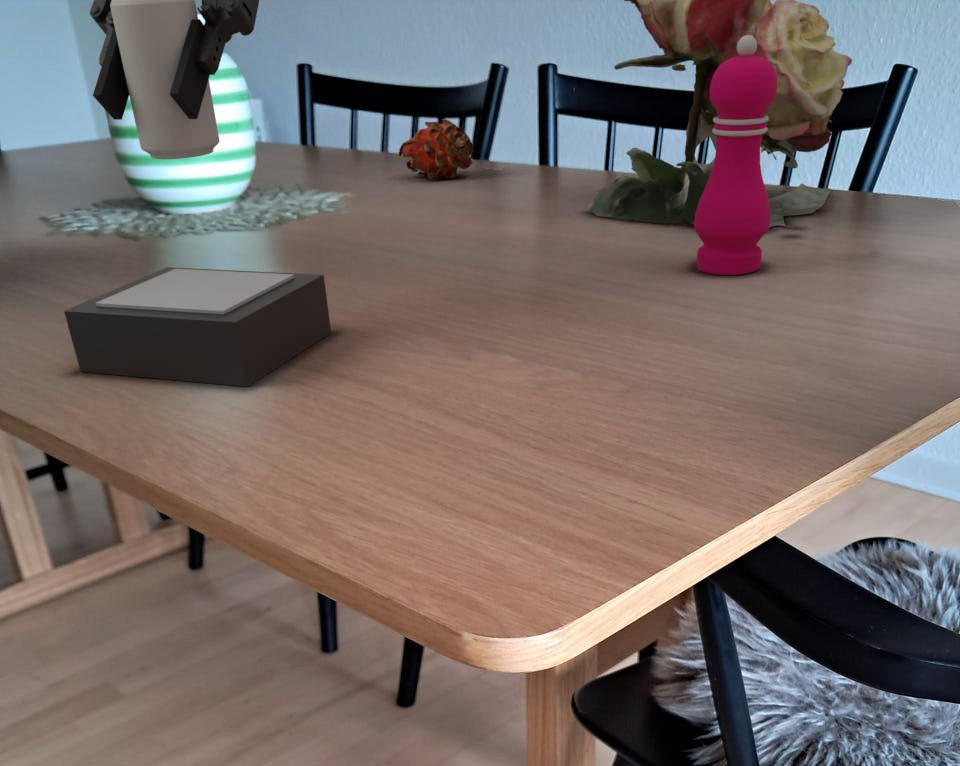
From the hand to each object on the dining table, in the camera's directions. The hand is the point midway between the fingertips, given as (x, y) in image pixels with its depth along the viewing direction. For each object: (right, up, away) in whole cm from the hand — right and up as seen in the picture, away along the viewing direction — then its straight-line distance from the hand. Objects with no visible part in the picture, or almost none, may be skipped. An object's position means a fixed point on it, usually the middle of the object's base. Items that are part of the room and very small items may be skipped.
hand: (145, 106), depth 78 cm
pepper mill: (+51, -4, +22) cm, 56 cm away
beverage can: (+1, -2, +5) cm, 6 cm away
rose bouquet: (+57, +12, +47) cm, 75 cm away
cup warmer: (+3, -17, +7) cm, 19 cm away
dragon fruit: (+20, +29, +75) cm, 82 cm away
